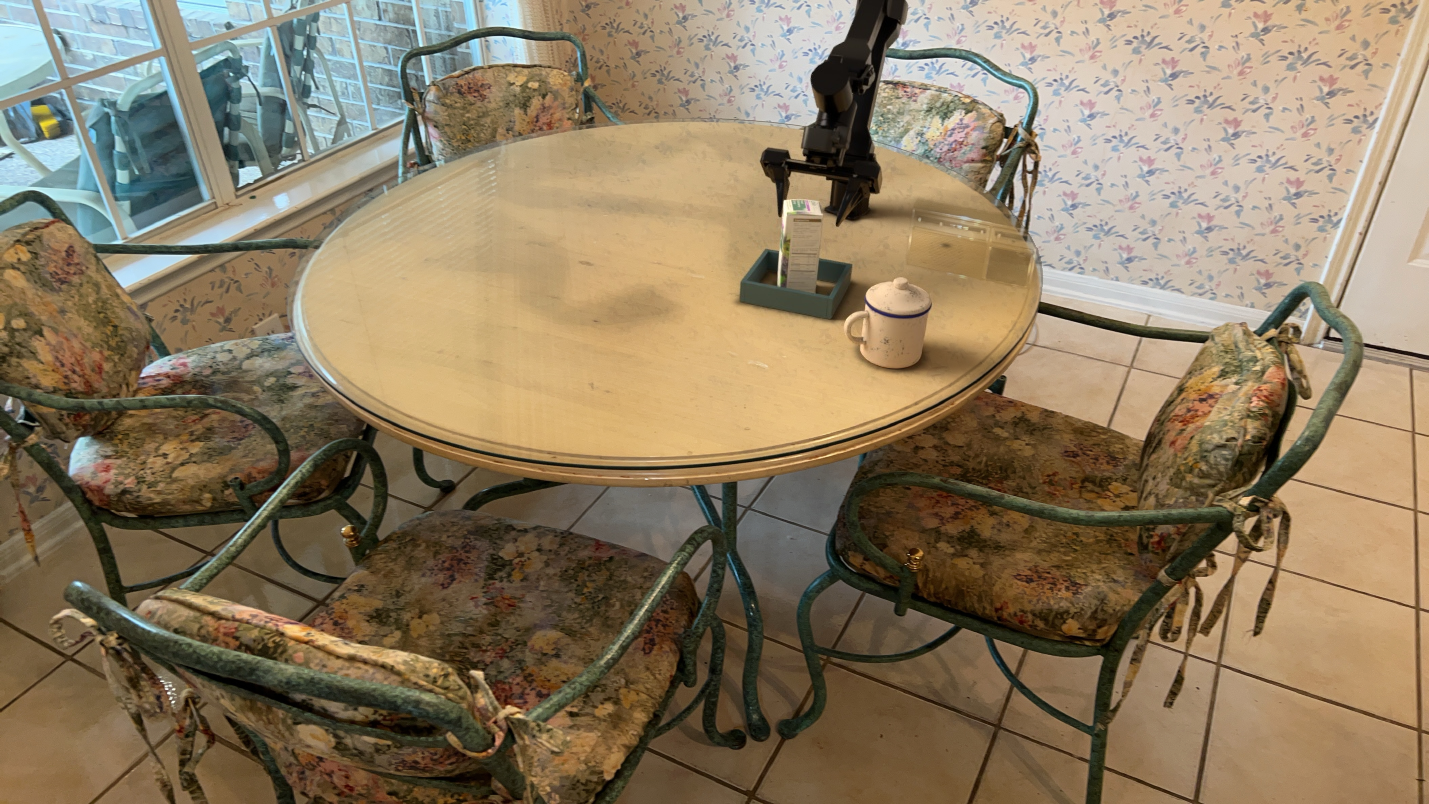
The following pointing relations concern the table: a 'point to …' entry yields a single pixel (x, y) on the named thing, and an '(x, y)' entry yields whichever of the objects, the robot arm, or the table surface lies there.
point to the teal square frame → (795, 298)
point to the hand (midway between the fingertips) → (807, 221)
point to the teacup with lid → (892, 323)
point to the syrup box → (800, 244)
